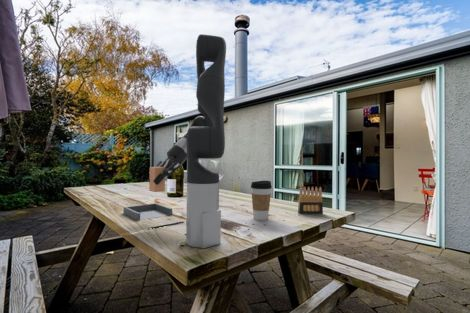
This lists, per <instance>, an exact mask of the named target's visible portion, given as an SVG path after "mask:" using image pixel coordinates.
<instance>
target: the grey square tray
mask: <svg viewBox="0 0 470 313" xmlns="http://www.w3.org/2000/svg"><path fill="white" fill-rule="evenodd" d="M123 214H124V215H126V216H127V217H130V218H132V219H134V220H135V221H143V220H150V219H156V218H162V217H168V216H173V208H171V207H170V206H169V207H168V206H166V205H162V204H159V203H156V202H155V203H148V204H147V203H145V204H138V205H129V206H124V207H123Z"/></svg>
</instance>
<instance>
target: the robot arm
mask: <svg viewBox="0 0 470 313" xmlns="http://www.w3.org/2000/svg"><path fill="white" fill-rule="evenodd" d="M226 53H227V42H226V40H225V38H224V37H222V36H219V35H212V34H198V36H197V38H196V44H195V58H196V77H197V82H196V92H195V93H196V94H195V97H196V100H197V111H198V113H200V114H201V115H198V116H196V117H194V119H193V120H192V122H191V125H190V126H189V128H188V129H187V132H186V133H185V134H184V135H183V136H182V137H181V138H180V139H179V140H177V142H175V143H174V144H173V145H172V147H171V148H170V149H169V150H168V151H166V155H167V156H166V159H164V160H159V162H158V163H157V164H156V166H155V167H163V170H162V171H161V174H159V175H158V176H157V177H156V178H155V179H154V180H153V182H154V183H155V184H156V185H158V184H159V183H160V182H161V181H162V180H163V179H164V178H165V179H166V178H167V177H168V178H169V177H171V176H172V175H173V174H174V173H175V172H176V171H177V170H178V169H179V168H180V167H181V166H182V165H183V164H184V163H185V161H186V165H187V166H186V168H187V169H186V219H185V220H186V224H185V226H186V227H185V230H186V231H185V232H186V233H185V235H186V238H185V242H186V243H185V244H186V245H187V246H190V247H194V248H200V249H206V248H209V247H214V246H217V245H219V244H221V243H222V242H221V240H222V238H221V230H222V227H221V226H222V211H221V209H219V208H220V174H219V172H218V171H215V170H213V169H209V168H207V167H205V166H204V165H203V164H201V163H200V161H199V159H200V160H201V159H202V160H203V159H205V160H207V159H209V160H210V159H212V160H215V159H221V158H223V155H224V154H225V148H226V144H225V143H226V137H225V135H226V134H225V119H224V118H225V117H224V115H225V114H224V113H225V110H224V109H225V94H226V93H225V92H226V90H225V83H226V82H225V68H226V67H225V65H226V58H227V57H226V56H227V54H226ZM205 62H207V63H212V64H211V65H210V66H209V67H207V68H206V67H205ZM146 181H147V182H148V183H149V182H150V176H149V177H148V179H147V180H146Z"/></svg>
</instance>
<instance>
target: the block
mask: <svg viewBox="0 0 470 313" xmlns="http://www.w3.org/2000/svg"><path fill="white" fill-rule="evenodd" d="M162 170H163V167H156V166H150V167H149V177H150V182H148V183H149V185H148V186H149V189H148V190H149V191H150V192H153V193H158V192H159V193H160V192H165V191H166V178H164V179H163V180H162V181H161V182H160V183H159V184H158V185H156V184H155V183H154V182H153V180H154V179H155V178H156V177H157V176H158V175H159V174H161V171H162Z"/></svg>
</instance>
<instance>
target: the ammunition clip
mask: <svg viewBox="0 0 470 313" xmlns="http://www.w3.org/2000/svg"><path fill="white" fill-rule="evenodd" d="M322 191H323V190H322V187H321V186H319V188H318V187H317V186H315V189H314V186H311V189H310V186H307V187H306V186H304V187H302V186H300V187H299V196H298V206H297V208H298V209H297V210H298V211H297V213H298V214H300V215H323V214H324V210H323V209H324V207H323V206H324V203H323V194H322V193H323V192H322ZM305 213H307V214H305Z"/></svg>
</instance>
